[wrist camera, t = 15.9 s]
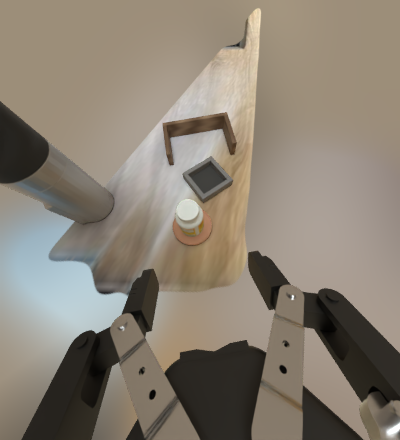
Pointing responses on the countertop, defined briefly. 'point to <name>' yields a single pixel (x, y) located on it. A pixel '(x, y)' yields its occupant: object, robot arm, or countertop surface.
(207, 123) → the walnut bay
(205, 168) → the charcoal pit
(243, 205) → the countertop surface
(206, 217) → the tan round disc
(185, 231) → the supplement bottle
